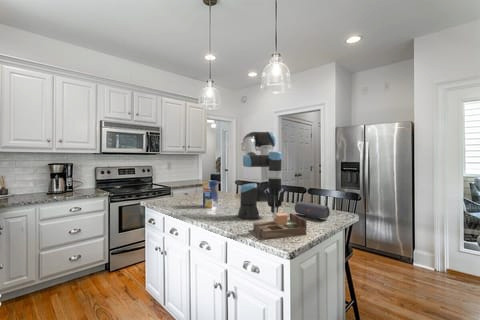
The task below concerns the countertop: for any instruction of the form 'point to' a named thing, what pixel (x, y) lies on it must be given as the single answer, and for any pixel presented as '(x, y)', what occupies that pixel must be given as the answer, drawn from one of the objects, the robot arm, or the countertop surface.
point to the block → (280, 218)
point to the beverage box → (210, 193)
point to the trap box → (281, 228)
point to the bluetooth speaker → (312, 210)
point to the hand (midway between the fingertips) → (274, 218)
